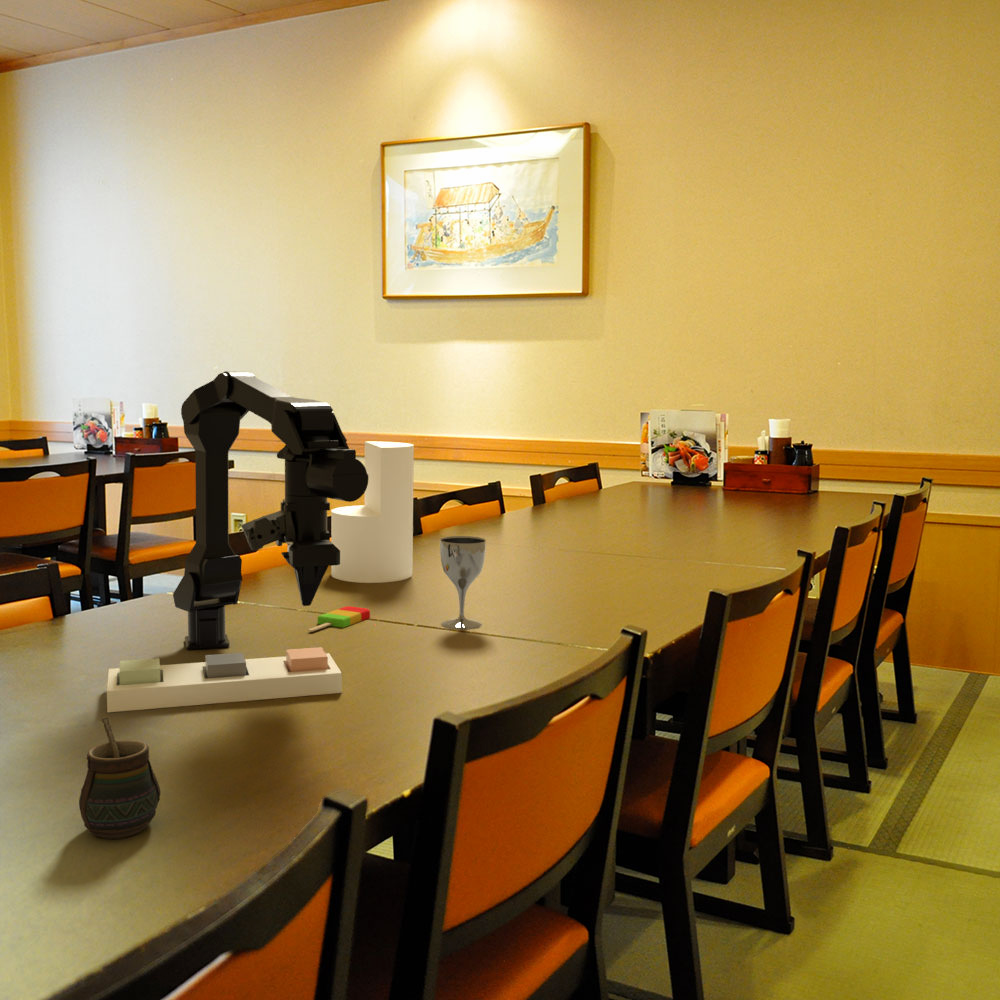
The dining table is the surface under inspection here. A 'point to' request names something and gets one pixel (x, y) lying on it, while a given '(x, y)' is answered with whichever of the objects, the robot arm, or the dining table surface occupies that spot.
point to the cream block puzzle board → (221, 685)
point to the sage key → (139, 671)
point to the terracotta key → (306, 659)
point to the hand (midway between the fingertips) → (306, 605)
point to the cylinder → (378, 519)
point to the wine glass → (462, 571)
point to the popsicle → (342, 617)
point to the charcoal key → (225, 665)
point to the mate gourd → (118, 788)
